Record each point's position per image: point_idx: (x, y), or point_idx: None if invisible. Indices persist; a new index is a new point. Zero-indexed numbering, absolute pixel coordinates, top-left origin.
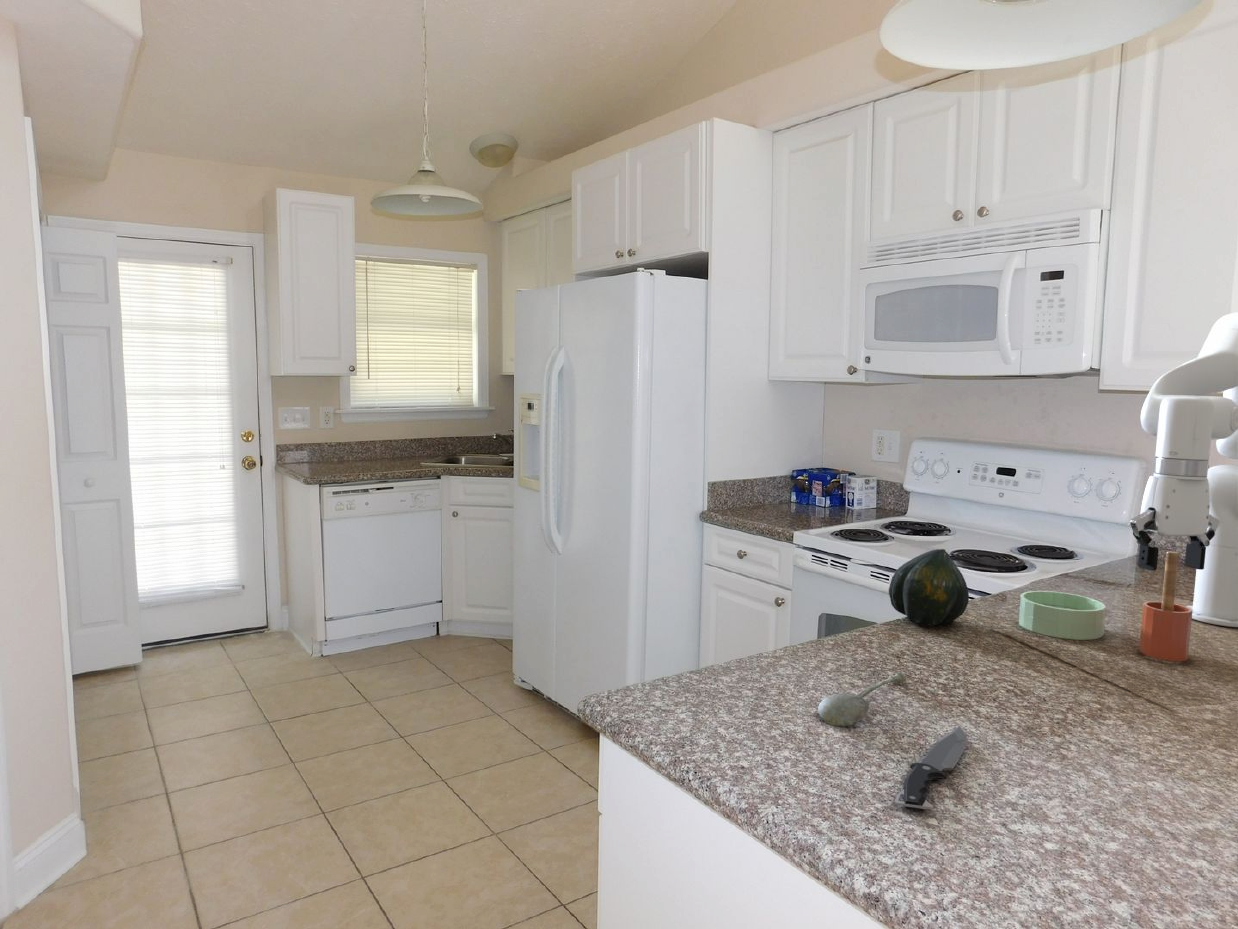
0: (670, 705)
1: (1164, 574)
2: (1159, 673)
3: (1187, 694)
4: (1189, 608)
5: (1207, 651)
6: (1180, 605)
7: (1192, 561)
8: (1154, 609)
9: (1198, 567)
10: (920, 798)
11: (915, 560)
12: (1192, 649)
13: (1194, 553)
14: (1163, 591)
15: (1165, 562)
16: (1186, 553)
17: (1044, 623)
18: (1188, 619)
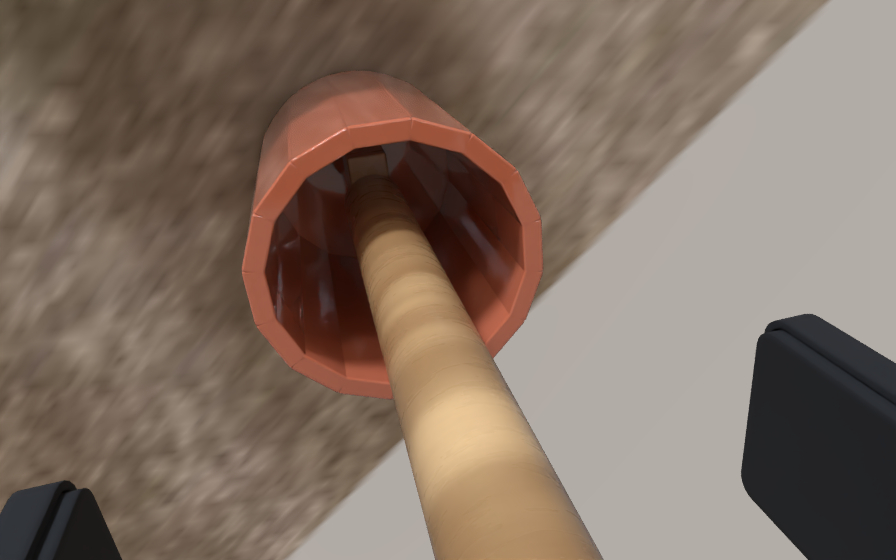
0: None
1: (407, 398)
2: (195, 367)
3: (160, 548)
4: (527, 302)
5: (655, 82)
6: (531, 230)
7: (800, 449)
8: (257, 326)
9: (749, 485)
10: None
11: None
12: (611, 50)
13: (883, 546)
14: (379, 320)
15: (434, 495)
16: (886, 427)
17: None
18: None
